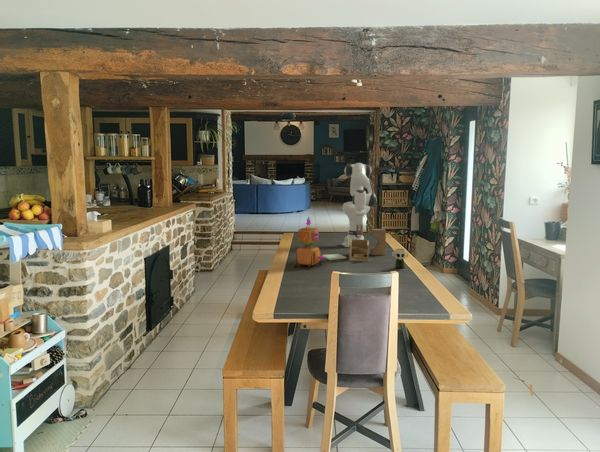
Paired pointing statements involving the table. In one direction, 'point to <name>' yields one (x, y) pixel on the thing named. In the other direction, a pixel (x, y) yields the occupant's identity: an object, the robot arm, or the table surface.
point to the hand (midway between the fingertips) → (359, 229)
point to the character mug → (400, 257)
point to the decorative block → (379, 242)
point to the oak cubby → (358, 250)
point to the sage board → (334, 256)
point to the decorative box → (308, 246)
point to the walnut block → (359, 232)
